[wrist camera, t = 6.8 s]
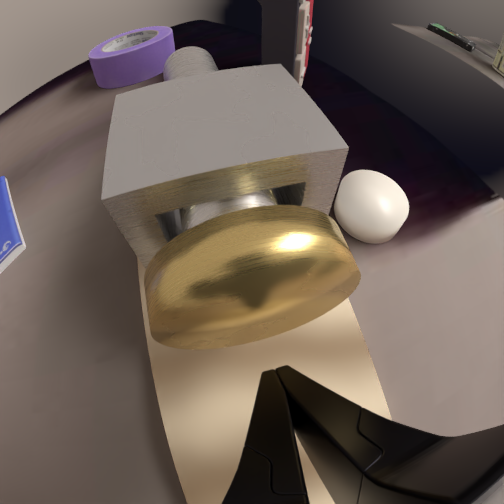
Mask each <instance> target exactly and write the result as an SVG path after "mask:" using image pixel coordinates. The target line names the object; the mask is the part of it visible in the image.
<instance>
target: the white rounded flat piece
mask: <svg viewBox="0 0 504 504" xmlns="http://www.w3.org/2000/svg"><path fill="white" fill-rule="evenodd" d="M408 212H409V204H408V200H407V197H406V195H405V193H404V192H403V190H402V189H401V188H400V187H399V185H398V184H397V183H395V182H394V181H393V180H392V179H390V178H389V177H387V176H385V175H383V174H381V173H378V172H375V171H371V170H357V171H353V172H351V173H349V174H347V175H346V176H345V177H344V178H343V180H342V181H341V184H340V187H339V190H338V193H337V196H336V199H335V203H334V213H335V217H336V219H337V221H338V223H339V224H340V226H341V227H342V228H343V229H344V230H345V231H346V232H347V233H348V234H349V235H351V236H352V237H354V238H356V239H357V240H360V241H362V242H366V243H371V244H380V243H384V242H387V241H389V240H391V239H392V238H393V237H394V236H395V235H396V233H397V232H398V230H399V229H400V227H401V226H402V224H403V223H404V221H405V220H406V218H407V216H408Z"/></svg>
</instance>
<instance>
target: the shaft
mask: <svg viewBox="0 0 504 504" xmlns="http://www.w3.org/2000/svg"><path fill="white" fill-rule="evenodd" d="M214 71H219V70H218V68H217V66H216V64H215V62H214V60H213V58H212V56H211V55H210V54H209V53H208V52H207V51H206V50H204V49H202V48H199V47H184V48H181V49H179V50H177V51H175V52H173V53H172V54H171V55H170V56H169V57H168V59H167V60H166V62H165V64H164V69H163V73H164V82H165V81H169V80H173V79H178V78H182V77H187V76H192V75H197V74H202V73H208V72H214ZM179 213H180V220H181V226H182V232H183V233H181V234H180V235H178V236H176V237H175V238H174V239H172V240H171V241H170V242H168V243H167V244H166V245H165V246H164V247H162V248H161V249H160V250H159V251H158V252H157V253H156V254H155V256H154V257H153V258H152V260H151V261H150V262H149V264H148V266H147V268H146V271H145V275H144V288H145V297H146V305H147V312H148V319H149V326H150V333H151V336H152V338H153V339H154V340H155V341H156V342H158V343H160V344H162V345H165V346H168V347H172V348H177V349H188V350H204V349H217V348H225V347H231V346H237V345H242V344H247V343H251V342H255V341H259V340H262V339H266V338H269V337H272V336H276V335H279V334H281V333H284V332H287V331H290V330H292V329H295V328H297V327H299V326H302V325H304V324H306V323H308V322H310V321H312V320H314V319H316V318H318V317H320V316H322V315H324V314H325V313H327V312H329V311H330V310H332V309H333V308H335V307H336V306H338V305H339V304H340V303H342V302H343V301H344V300H345V299H346V298H348V297H349V296H350V295H351V294H352V293H353V291H354V290H355V289H356V287H357V286H358V284H359V282H360V279H361V274H360V271H359V269H358V267H357V265H356V262H355V260H354V258H353V256H352V254H351V252H350V249H349V247H348V245H347V243H346V241H345V239H344V237H343V235H342V233H341V231H340V229H339V227H338V225H337V223H336V222H335V221H334V220H333V219H332V218H331V217H330V216H328V215H327V214H325V213H323V212H321V211H319V210H316V209H312V208H309V207H304V206H296V205H279V204H278V202H277V199H276V197H275V195H274V192H273V190H272V188H271V189H266V190H261V191H256V192H251V193H247V194H242V195H237V196H233V197H228V198H224V199H219V200H215V201H211V202H206V203H202V204H198V205H194V206H189V207H185V208H181V209H179Z"/></svg>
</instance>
